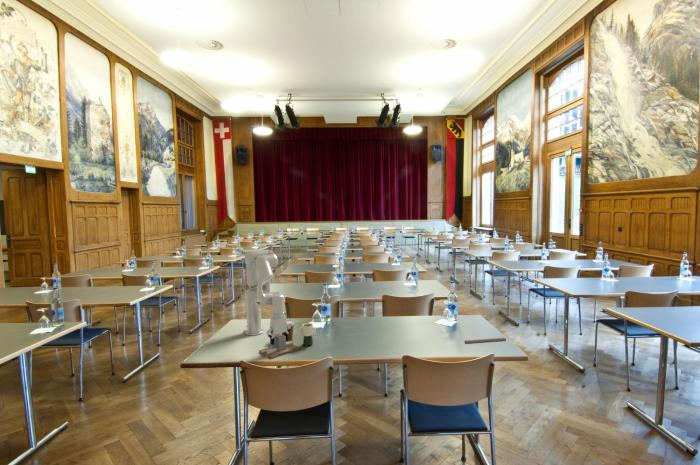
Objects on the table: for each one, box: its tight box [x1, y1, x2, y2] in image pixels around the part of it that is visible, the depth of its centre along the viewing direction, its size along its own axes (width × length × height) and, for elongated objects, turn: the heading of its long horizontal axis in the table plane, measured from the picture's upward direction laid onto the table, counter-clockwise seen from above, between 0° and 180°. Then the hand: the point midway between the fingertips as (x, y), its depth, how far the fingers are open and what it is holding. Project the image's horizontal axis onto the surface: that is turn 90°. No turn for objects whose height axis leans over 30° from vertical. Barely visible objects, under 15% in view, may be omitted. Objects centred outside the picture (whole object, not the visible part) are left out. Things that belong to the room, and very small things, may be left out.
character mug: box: [298, 322, 317, 347], centre depth 231 cm, size 11×7×13 cm, turn 82°
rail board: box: [258, 340, 300, 360], centre depth 223 cm, size 14×20×3 cm
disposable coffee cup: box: [281, 319, 295, 342], centre depth 241 cm, size 10×10×12 cm
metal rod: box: [464, 337, 507, 344], centre depth 232 cm, size 2×27×2 cm, turn 98°
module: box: [272, 333, 287, 351], centre depth 223 cm, size 7×5×8 cm
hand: (279, 342), depth 223 cm, fingers open, 9 cm apart
